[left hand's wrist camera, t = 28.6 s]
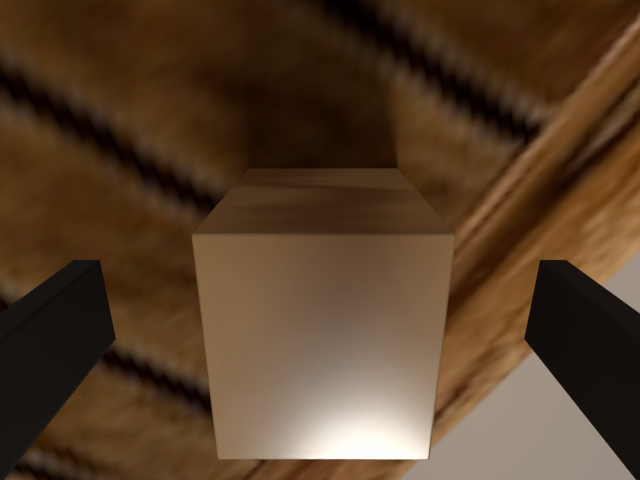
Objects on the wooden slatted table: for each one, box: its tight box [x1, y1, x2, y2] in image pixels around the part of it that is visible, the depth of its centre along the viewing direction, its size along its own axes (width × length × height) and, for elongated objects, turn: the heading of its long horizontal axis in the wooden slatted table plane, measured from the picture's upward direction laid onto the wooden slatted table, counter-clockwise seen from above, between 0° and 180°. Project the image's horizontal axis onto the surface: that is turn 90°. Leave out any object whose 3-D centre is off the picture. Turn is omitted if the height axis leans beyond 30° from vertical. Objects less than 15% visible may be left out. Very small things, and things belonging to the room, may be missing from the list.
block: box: [192, 168, 456, 460], centre depth 13 cm, size 6×6×7 cm
